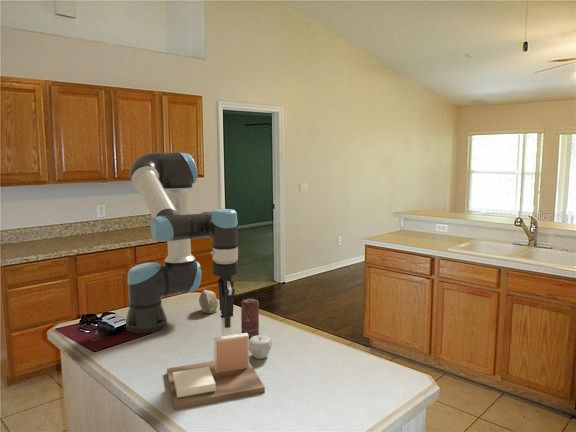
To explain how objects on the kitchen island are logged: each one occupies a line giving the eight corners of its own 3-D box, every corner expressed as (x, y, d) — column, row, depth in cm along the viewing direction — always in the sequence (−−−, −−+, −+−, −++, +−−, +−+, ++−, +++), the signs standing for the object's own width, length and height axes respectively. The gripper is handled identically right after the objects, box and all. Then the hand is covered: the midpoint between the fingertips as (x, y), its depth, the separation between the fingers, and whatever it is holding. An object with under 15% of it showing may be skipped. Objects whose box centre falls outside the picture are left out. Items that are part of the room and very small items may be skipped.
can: (257, 342, 152) (256, 303, 150) (239, 340, 153) (238, 301, 151) (261, 335, 158) (261, 297, 156) (244, 333, 159) (244, 296, 157)
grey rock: (209, 320, 178) (206, 301, 173) (194, 313, 182) (190, 294, 177) (224, 307, 185) (222, 288, 180) (209, 300, 189) (207, 282, 184)
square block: (172, 372, 123) (176, 390, 113) (208, 366, 126) (215, 383, 117) (173, 380, 123) (177, 399, 114) (208, 374, 126) (215, 392, 117)
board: (167, 373, 130) (166, 368, 130) (245, 360, 138) (245, 355, 138) (174, 409, 112) (173, 404, 111) (264, 392, 120) (264, 387, 120)
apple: (274, 361, 138) (273, 341, 137) (248, 363, 137) (248, 343, 136) (270, 350, 146) (270, 331, 145) (246, 351, 144) (246, 332, 143)
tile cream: (214, 369, 129) (213, 337, 128) (247, 364, 133) (247, 332, 131) (216, 373, 127) (215, 340, 125) (249, 368, 130) (249, 335, 129)
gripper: (208, 257, 136) (210, 330, 140) (217, 267, 124) (218, 346, 128) (232, 255, 139) (233, 326, 142) (242, 265, 127) (244, 342, 130)
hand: (226, 336), depth 135 cm, fingers closed
